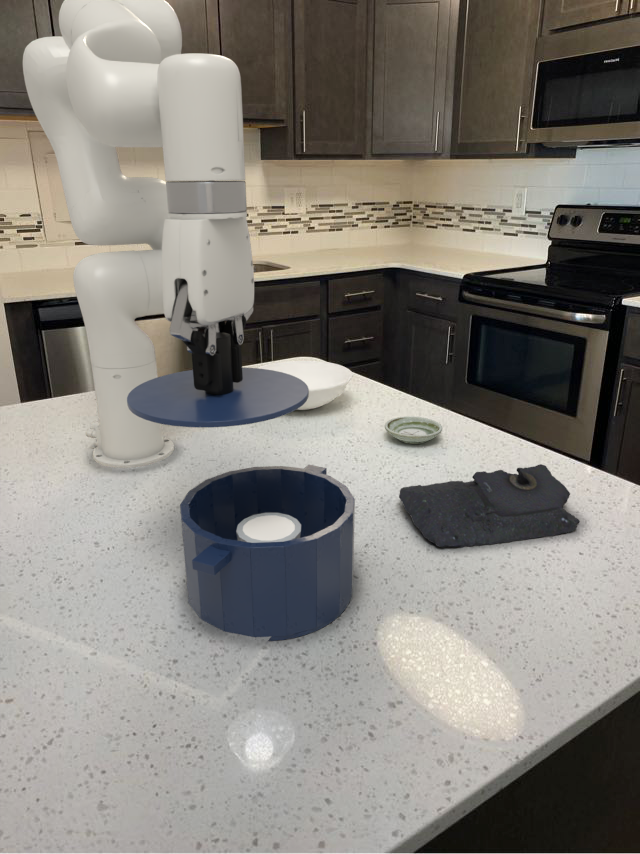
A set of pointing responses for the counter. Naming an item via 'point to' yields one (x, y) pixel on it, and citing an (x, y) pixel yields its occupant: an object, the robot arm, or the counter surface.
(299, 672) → the counter surface
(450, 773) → the counter surface
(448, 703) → the counter surface
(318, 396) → the bowl
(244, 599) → the pot
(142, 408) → the lid
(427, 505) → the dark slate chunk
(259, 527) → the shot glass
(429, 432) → the saucer
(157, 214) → the robot arm
